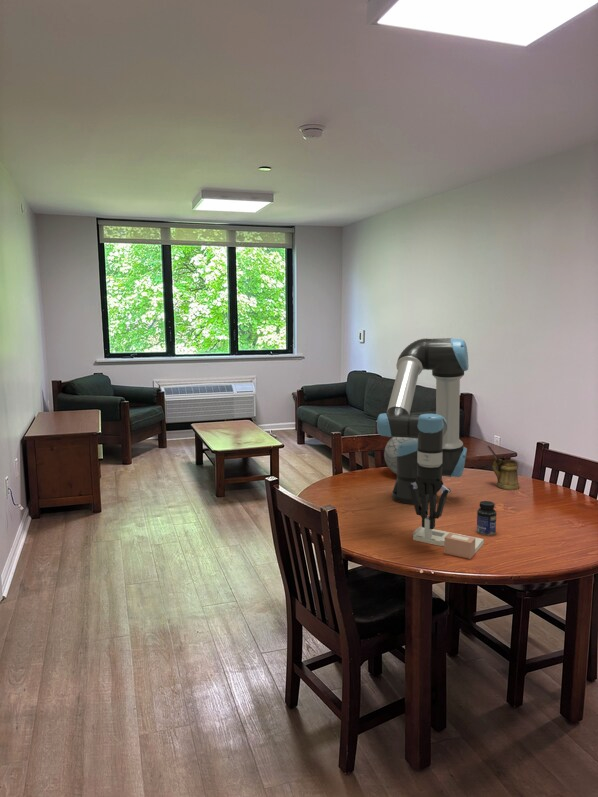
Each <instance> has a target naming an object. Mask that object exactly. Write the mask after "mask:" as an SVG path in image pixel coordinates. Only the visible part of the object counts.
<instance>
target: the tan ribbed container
mask: <svg viewBox="0 0 598 797" xmlns="http://www.w3.org/2000/svg"><path fill="white" fill-rule="evenodd" d="M487 448H488V449H489V451H490V452H491V454H492V455H493V457H494V460H493V463H492V465H491V466H492V471H493V472H494V474H495V476H496V479H497V481H496V487H497V488H499V489H502V490H506V491H507V490H508V491H515V489H516V490H519V489H520V484H519V479H518V478H519V477H518V470H519V468H518V467H519V466H518V465H517V461H515V460H512V459H505V460H504V459H500V458H499V457H498V456H497V454H496V453H495V452H494V450H493V449H492V447H491V446H489V445H487ZM498 467H499V468H500V469H499V470H498V469H497V468H498Z"/></svg>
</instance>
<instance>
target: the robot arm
mask: <svg viewBox="0 0 598 797" xmlns="http://www.w3.org/2000/svg"><path fill="white" fill-rule="evenodd" d="M468 353H469V352H468V347H467V343H466V341H465V340H464V339H462V338H452V337H451V338H444V337H443V338H420V339H417V340H415V341H413V342H411V343H410V344H408V345H407V346H406V347H404V349H403V351H402V352H401V353H400V354H399V356H398V358H397V361H396V369H397V372H396V376H395V380H394V383H393V388H392V390H391V394H390V398H389V402H388V405H387V410H386V412H384V413H379V414H378V416H377V420H376V430H377V434H378V435H379V436H382V437H388V438H392V437H406V438H418V440H414V441H407V442H403V443H401V444H399V445H398V448H397V474H396V480H395V483H394V486H393V489H392V492H391V495H392V496H391V497H392V500H394V501H395V502H397V503H401V504H407V505H413V506H414V510H415V514H416V515H417V516H420V517H421V527H424V528H425V530H424V539H428V540H429V539H430V538H431V537H432V529H435V527H436V519H439V518H440V517H442V514H443V512H444V507H445V505H446V501H447V496H448V495H449V493H450V492H451V488H449V487H446V486H445V485H444V482H443V479H442V478H443V477H447V478H448V477H449V478H452V477H454V478H460V477H462V476H463V474H464V469H465V464H466V459H467V458H466V457H467V454H468V453H467V451H468V448H467V447H465V446H464V442H463V441H462V440H461V439H460V396H461V395H460V392H461V390H460V389H461V382H460V381H461V378H463V377H464V376H465V372H467V371H469V354H468ZM425 370H426V371H431V376H433V378H434V379H435V382H436V383H435V385H436V386H435V388H436V389H435V390H436V391H435V397H436V400H435V413H423V414H422V413H421V414H419V415H418V414H410V413H411V409H412V405H413V400H414V396H415V391H416V386H417V383H418V382H417V381H418V379H419V376H420V374H422V372H423V371H425ZM438 492H440V493H441V495H440V497H439V501H438V504H437V496H438Z"/></svg>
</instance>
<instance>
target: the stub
mask: <svg viewBox="0 0 598 797" xmlns="http://www.w3.org/2000/svg"><path fill="white" fill-rule="evenodd" d="M453 533H454V532H451V533H449V534H448V535H447V536H446V537H445V542H444V547H443V548H444V550H443V554H445V555H451V556H455V557H460V558H463V559H469V560H471V559H472V558H473V557H474V556H475V554H476V553H475V538H473V537H474V536H471V537H468V536H469V535H466V536H463V535H464V534H461V535H458V534H459V533H456V534H453Z"/></svg>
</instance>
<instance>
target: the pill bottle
mask: <svg viewBox="0 0 598 797" xmlns="http://www.w3.org/2000/svg"><path fill="white" fill-rule="evenodd" d="M479 507H480V508H478V509H477V512H476V513H477V514H476V533H477V534H479V535H481V536H488V537H489V536H490V537H493V536H496V534H497V511H496V510H495V502H493V501H489V500H480V501H479Z"/></svg>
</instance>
